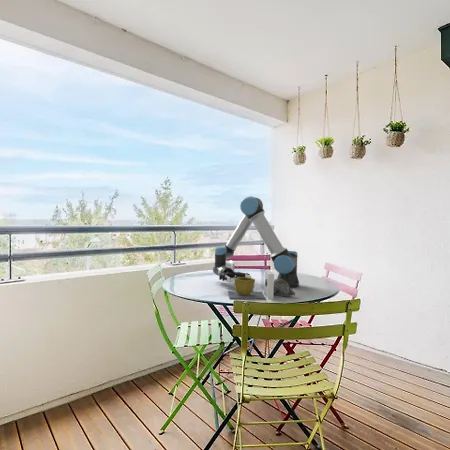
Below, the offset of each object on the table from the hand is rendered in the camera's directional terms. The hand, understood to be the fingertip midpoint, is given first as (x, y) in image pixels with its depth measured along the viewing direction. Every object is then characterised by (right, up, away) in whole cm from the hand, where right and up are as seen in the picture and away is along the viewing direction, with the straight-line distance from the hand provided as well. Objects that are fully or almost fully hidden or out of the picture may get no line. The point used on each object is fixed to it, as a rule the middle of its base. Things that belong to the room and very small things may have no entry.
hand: (240, 279), depth 195 cm
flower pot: (+2, -8, -5) cm, 10 cm away
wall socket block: (+16, -9, -4) cm, 19 cm away
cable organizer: (-9, -7, +50) cm, 51 cm away
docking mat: (+3, -9, -5) cm, 11 cm away
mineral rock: (+24, -10, -2) cm, 26 cm away
